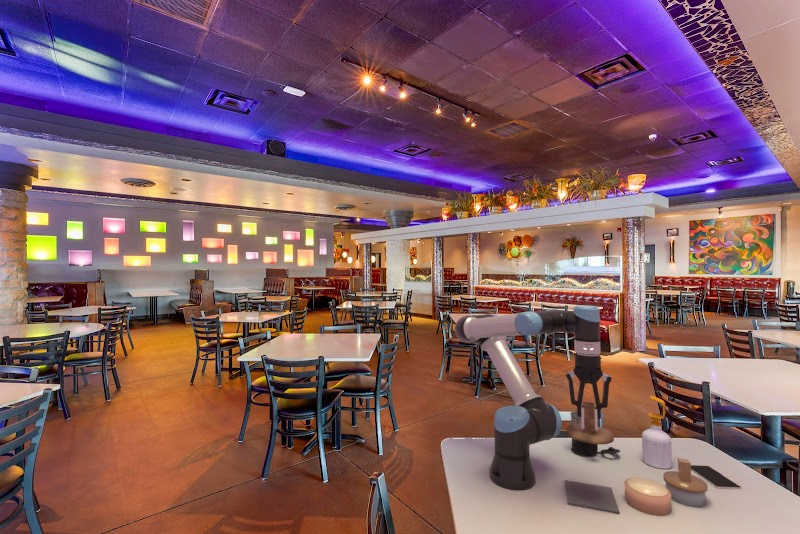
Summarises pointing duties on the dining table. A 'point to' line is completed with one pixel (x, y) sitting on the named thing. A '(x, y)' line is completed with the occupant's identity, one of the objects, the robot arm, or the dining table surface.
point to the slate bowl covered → (685, 485)
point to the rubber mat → (591, 496)
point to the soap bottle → (657, 442)
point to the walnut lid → (589, 428)
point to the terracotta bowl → (648, 496)
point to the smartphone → (714, 477)
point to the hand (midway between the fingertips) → (589, 427)
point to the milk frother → (587, 448)
